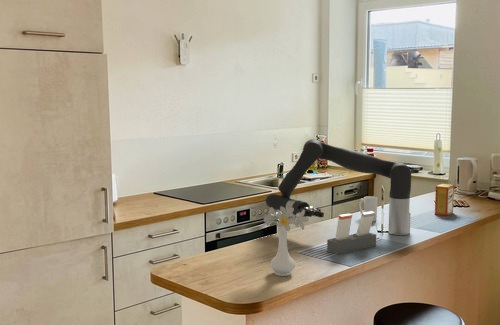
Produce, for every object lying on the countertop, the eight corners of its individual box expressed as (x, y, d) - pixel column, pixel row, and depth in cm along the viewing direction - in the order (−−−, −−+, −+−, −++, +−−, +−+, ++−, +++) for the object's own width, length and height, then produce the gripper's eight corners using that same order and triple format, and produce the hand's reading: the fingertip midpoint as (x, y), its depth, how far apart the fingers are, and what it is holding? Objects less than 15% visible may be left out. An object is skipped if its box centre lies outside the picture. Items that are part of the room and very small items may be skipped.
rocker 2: (366, 232, 249) (372, 210, 245) (368, 234, 248) (374, 212, 244) (356, 234, 246) (362, 212, 242) (358, 236, 245) (364, 214, 241)
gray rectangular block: (366, 242, 253) (366, 230, 253) (376, 245, 248) (376, 233, 248) (327, 251, 241) (327, 238, 240) (336, 254, 236) (337, 241, 235)
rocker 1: (345, 236, 243) (349, 213, 240) (348, 238, 241) (352, 214, 238) (335, 238, 239) (338, 215, 236) (338, 240, 238) (341, 216, 235)
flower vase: (312, 271, 214) (313, 206, 211) (279, 283, 202) (279, 214, 198) (286, 263, 224) (286, 201, 220) (253, 274, 211) (253, 208, 208)
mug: (379, 219, 296) (379, 197, 295) (373, 222, 291) (373, 199, 289) (361, 217, 302) (362, 195, 301) (355, 219, 297) (356, 197, 296)
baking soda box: (446, 216, 304) (448, 186, 302) (434, 214, 308) (435, 185, 306) (452, 213, 311) (454, 184, 309) (441, 211, 315) (442, 183, 313)
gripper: (286, 201, 259) (311, 208, 245) (308, 198, 267) (333, 204, 253) (286, 217, 260) (310, 225, 246) (308, 214, 268) (333, 221, 254)
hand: (322, 215), depth 249 cm, fingers closed
